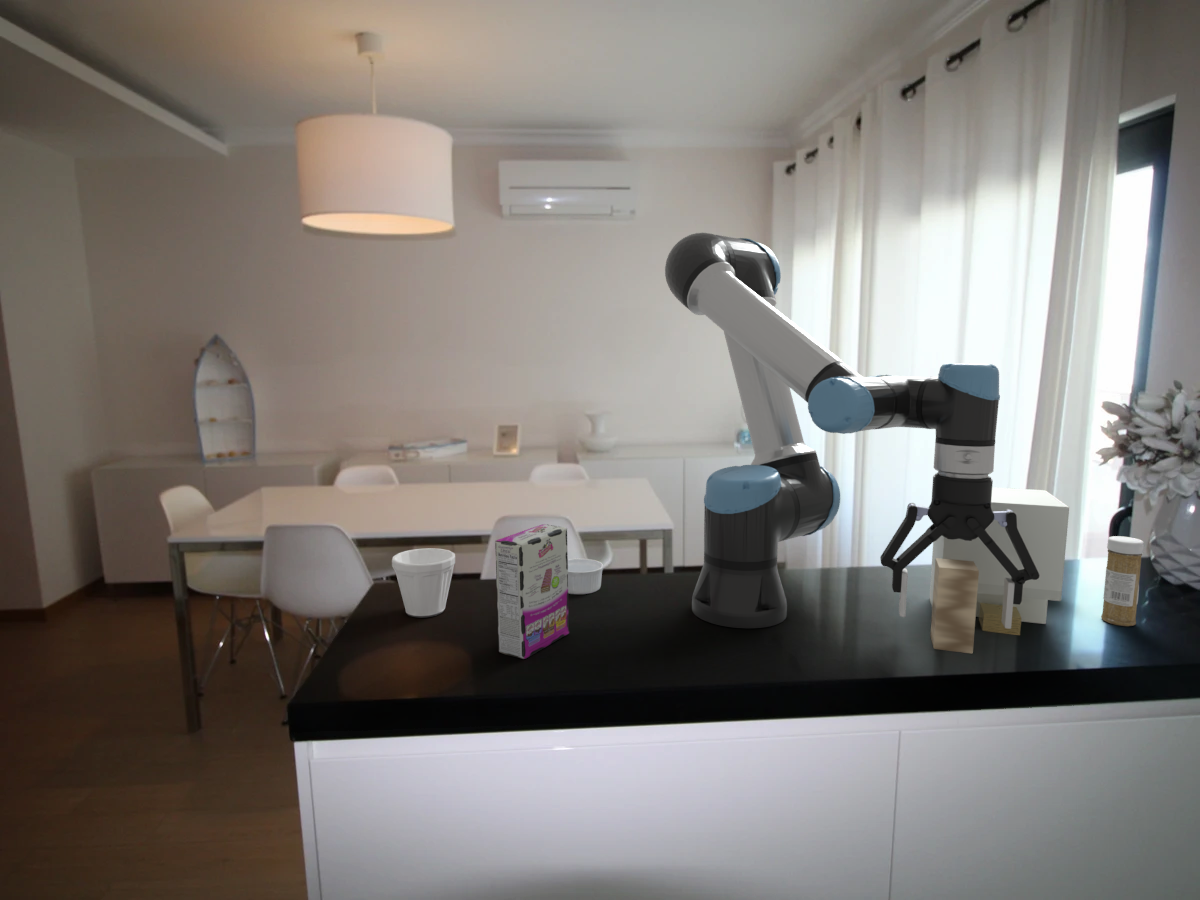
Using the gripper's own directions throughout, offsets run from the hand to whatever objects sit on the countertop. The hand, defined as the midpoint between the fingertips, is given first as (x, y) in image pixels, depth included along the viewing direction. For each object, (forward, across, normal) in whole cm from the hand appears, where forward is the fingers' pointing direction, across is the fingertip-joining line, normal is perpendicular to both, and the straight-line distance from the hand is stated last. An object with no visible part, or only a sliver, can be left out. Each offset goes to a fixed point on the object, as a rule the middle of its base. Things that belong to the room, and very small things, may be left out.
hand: (952, 619), depth 104 cm
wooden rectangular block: (+4, 0, +5) cm, 6 cm away
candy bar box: (+4, -57, -20) cm, 61 cm away
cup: (+4, -79, -14) cm, 80 cm away
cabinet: (+4, +7, +14) cm, 16 cm away
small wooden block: (+4, +8, +10) cm, 13 cm away
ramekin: (+4, -60, +6) cm, 60 cm away
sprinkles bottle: (+4, +26, +19) cm, 32 cm away
